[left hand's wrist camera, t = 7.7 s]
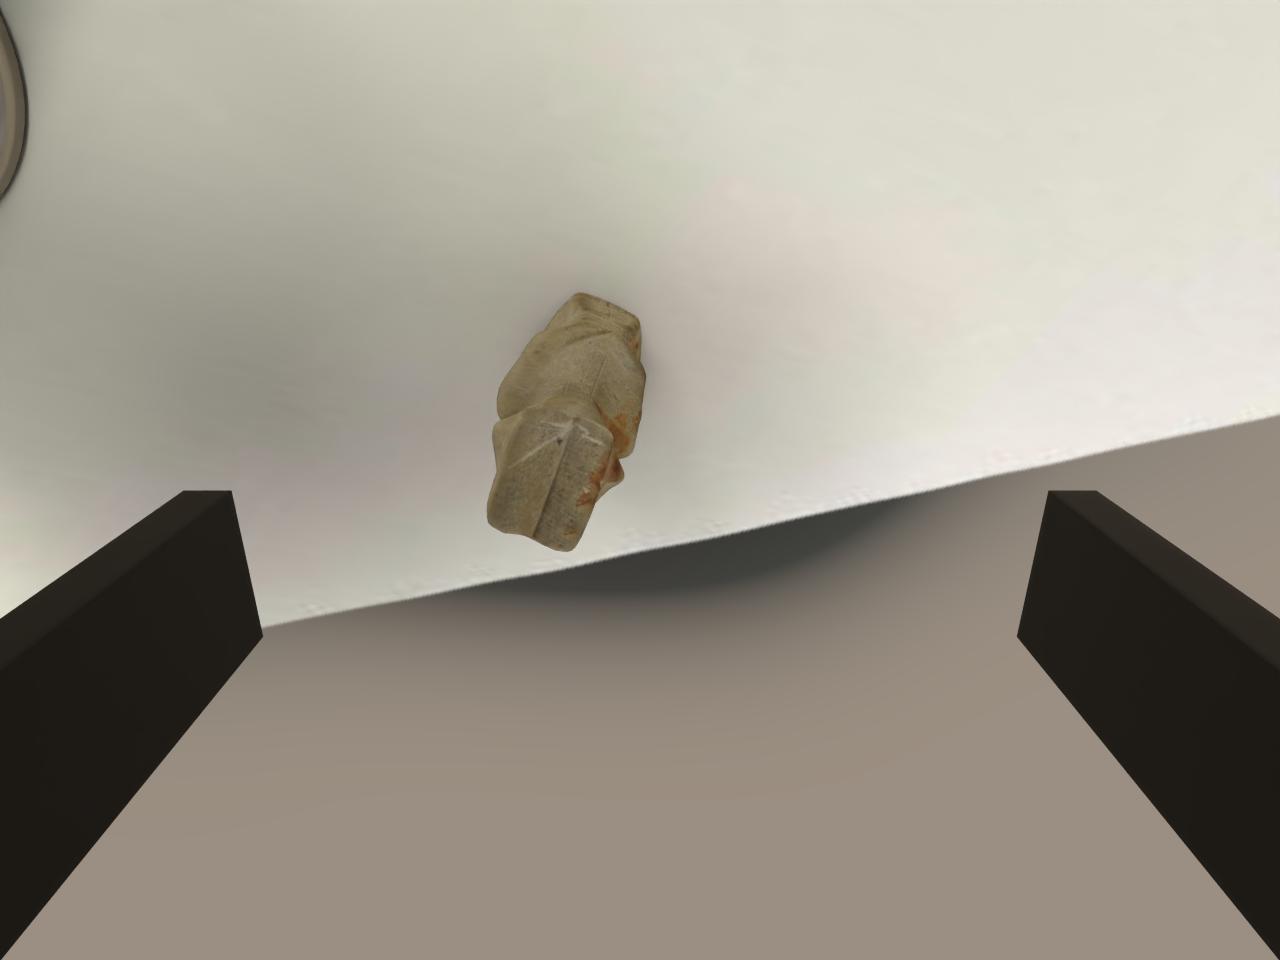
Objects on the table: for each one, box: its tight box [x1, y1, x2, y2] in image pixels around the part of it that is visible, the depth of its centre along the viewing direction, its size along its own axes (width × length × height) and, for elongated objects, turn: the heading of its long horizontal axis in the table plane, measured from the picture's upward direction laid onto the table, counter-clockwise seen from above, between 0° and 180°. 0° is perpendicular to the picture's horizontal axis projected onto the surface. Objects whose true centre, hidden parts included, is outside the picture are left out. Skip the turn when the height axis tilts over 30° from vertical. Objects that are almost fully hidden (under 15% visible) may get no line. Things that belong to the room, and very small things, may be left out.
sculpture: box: [487, 293, 646, 552], centre depth 32 cm, size 6×7×15 cm
